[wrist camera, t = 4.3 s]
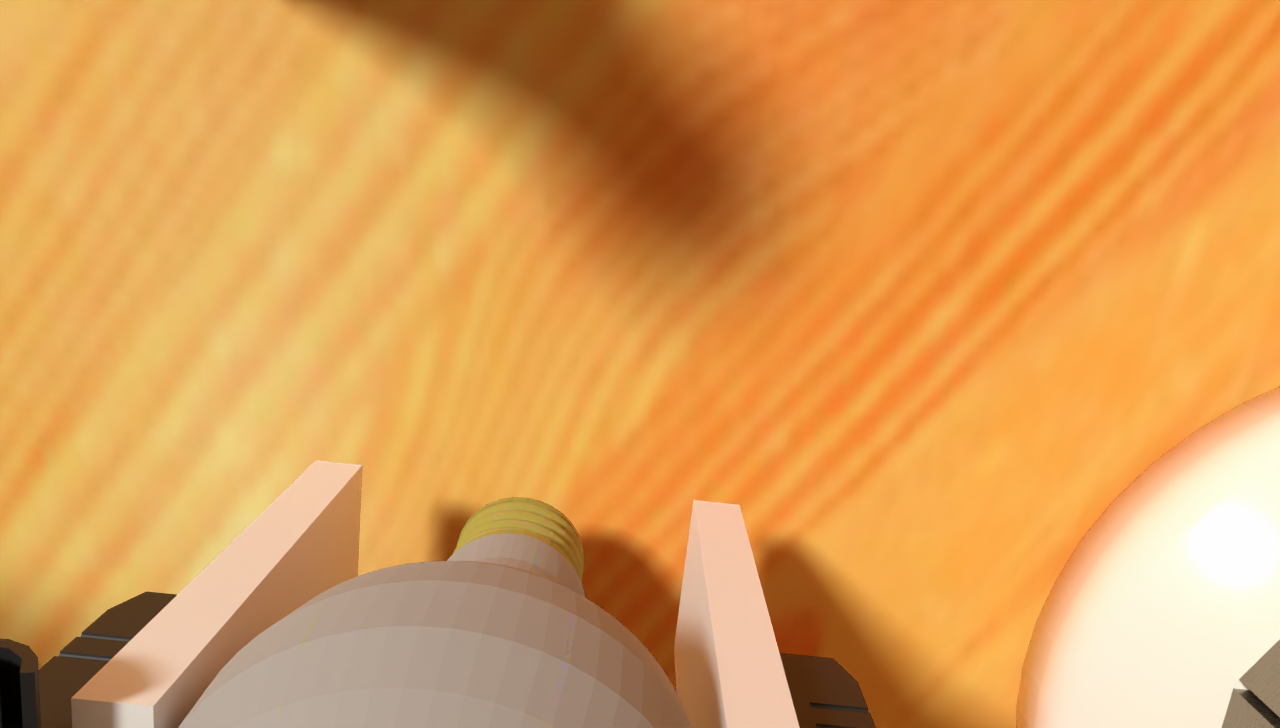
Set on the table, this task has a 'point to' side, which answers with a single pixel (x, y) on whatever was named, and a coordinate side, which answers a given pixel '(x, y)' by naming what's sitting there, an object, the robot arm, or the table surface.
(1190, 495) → the socket base
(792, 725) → the robot arm
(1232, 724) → the socket collar
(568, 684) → the light bulb
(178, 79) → the table surface
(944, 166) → the table surface
